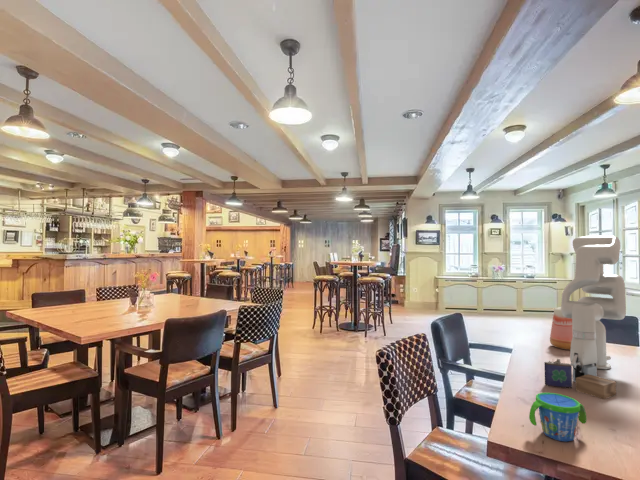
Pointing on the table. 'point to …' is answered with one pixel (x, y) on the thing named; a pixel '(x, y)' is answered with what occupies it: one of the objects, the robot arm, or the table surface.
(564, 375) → the clover trinket box
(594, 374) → the pale blue cube
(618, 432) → the table surface
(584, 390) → the block
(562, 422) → the snack cup
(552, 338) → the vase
